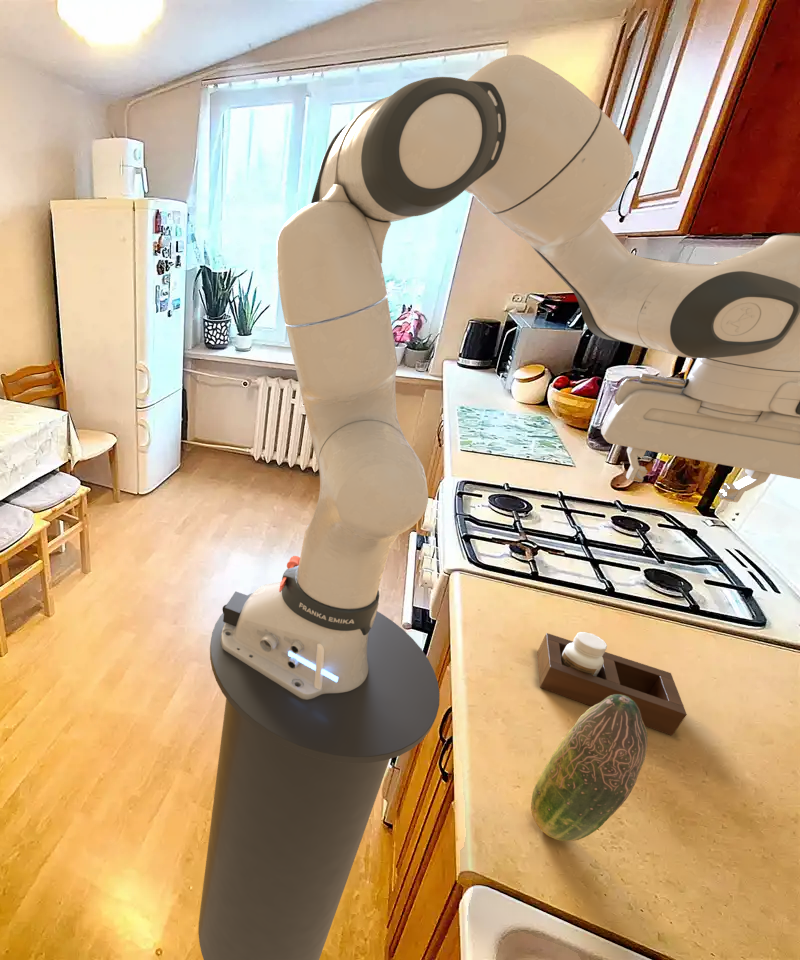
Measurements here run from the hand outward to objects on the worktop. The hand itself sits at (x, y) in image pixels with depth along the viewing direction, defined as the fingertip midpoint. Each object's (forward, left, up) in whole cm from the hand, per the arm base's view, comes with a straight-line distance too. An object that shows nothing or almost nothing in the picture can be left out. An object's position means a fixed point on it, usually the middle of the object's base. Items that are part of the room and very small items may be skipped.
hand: (678, 489), depth 68 cm
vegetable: (-7, -35, -29) cm, 46 cm away
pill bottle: (-3, -9, -29) cm, 30 cm away
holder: (0, -9, -29) cm, 30 cm away
